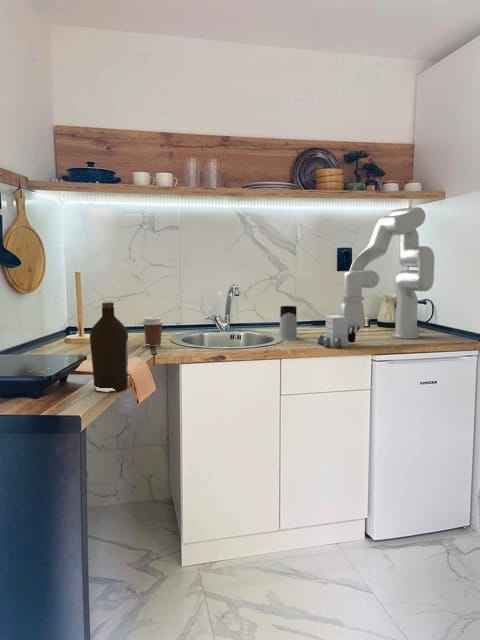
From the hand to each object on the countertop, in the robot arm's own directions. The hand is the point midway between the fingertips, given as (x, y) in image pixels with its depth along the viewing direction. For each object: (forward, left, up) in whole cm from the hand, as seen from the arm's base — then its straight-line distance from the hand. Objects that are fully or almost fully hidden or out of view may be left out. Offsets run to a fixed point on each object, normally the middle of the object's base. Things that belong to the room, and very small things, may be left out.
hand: (351, 342), depth 203 cm
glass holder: (+21, -24, -1) cm, 32 cm away
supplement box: (+7, 0, -1) cm, 7 cm away
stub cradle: (+11, 0, -1) cm, 11 cm away
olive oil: (+99, +47, -1) cm, 110 cm away
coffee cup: (+84, -19, -1) cm, 86 cm away
